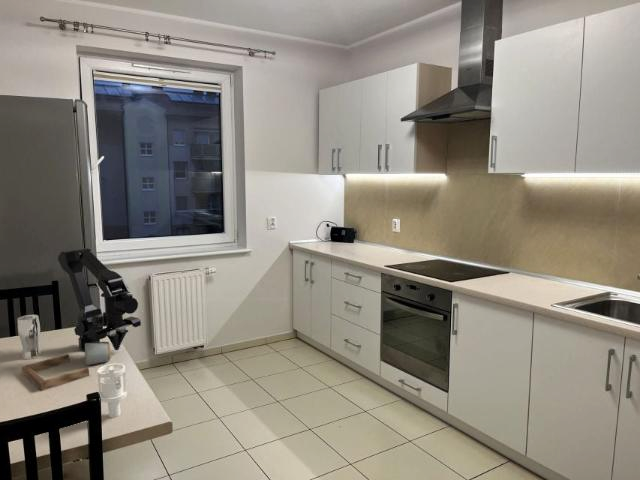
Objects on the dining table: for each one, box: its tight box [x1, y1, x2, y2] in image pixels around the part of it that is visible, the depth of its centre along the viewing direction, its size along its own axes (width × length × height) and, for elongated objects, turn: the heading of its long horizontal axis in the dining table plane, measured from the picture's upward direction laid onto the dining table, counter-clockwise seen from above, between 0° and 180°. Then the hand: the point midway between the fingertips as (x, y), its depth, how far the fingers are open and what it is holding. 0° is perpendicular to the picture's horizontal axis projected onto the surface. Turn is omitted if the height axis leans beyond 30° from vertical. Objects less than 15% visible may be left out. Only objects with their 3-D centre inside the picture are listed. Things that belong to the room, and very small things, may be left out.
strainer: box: [96, 363, 128, 419], centre depth 132 cm, size 7×7×15 cm
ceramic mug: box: [84, 341, 111, 366], centre depth 170 cm, size 11×8×8 cm
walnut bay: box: [21, 353, 90, 392], centre depth 159 cm, size 14×19×2 cm
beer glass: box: [17, 314, 42, 360], centre depth 174 cm, size 7×7×15 cm
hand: (116, 349), depth 174 cm, fingers closed
